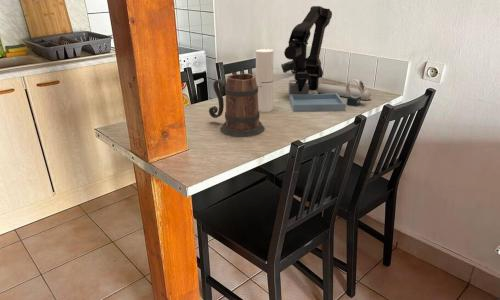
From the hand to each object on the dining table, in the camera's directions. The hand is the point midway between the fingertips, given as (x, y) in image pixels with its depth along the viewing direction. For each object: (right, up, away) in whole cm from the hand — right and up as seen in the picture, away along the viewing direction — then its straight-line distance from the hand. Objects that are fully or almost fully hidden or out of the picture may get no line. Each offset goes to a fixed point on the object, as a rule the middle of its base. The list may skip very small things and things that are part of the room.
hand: (298, 89), depth 177 cm
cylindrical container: (-17, -12, -16) cm, 26 cm away
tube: (+21, -4, 0) cm, 22 cm away
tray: (+6, -9, -12) cm, 17 cm away
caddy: (0, -3, +1) cm, 4 cm away
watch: (+23, -9, -11) cm, 27 cm away
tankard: (-29, -21, -35) cm, 50 cm away
